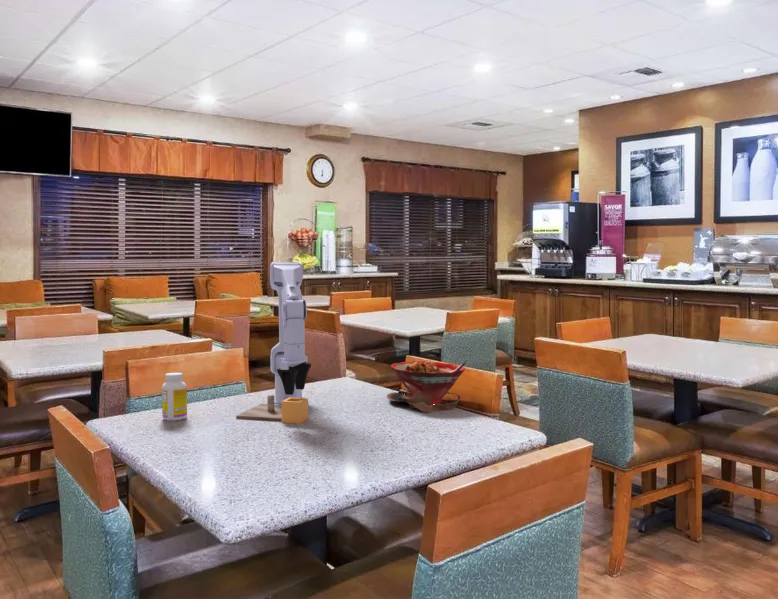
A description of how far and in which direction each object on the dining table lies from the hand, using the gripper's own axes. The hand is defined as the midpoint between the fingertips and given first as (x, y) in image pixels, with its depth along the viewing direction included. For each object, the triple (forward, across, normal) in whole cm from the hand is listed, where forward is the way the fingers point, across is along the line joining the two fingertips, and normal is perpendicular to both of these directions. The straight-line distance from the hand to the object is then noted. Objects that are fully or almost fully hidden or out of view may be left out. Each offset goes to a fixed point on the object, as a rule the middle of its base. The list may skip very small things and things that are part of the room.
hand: (294, 391), depth 183 cm
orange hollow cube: (+8, 0, 0) cm, 8 cm away
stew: (+9, -30, +32) cm, 45 cm away
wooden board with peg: (+8, -6, -10) cm, 14 cm away
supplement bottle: (+8, +6, -34) cm, 36 cm away
